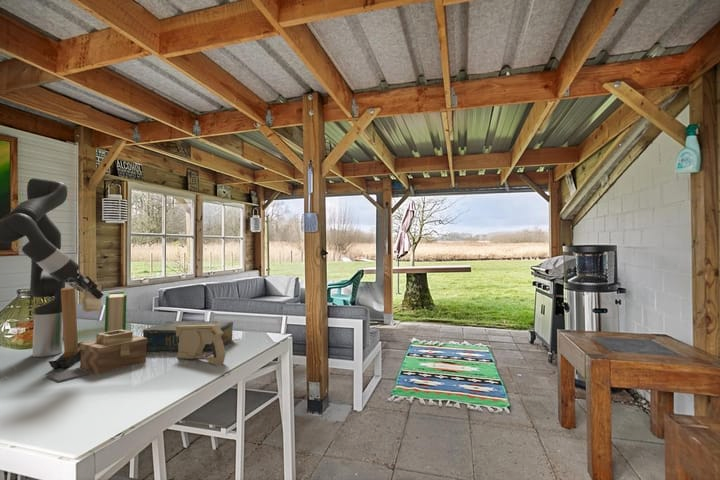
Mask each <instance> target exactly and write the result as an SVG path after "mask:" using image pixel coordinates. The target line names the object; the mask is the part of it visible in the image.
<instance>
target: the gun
mask: <svg viewBox="0 0 720 480" xmlns="http://www.w3.org/2000/svg"><path fill="white" fill-rule="evenodd" d="M222 335H223V331H222V330H221V329H220V327H219V326H218V325H180V326H176V336H179V343H178V353H177V355H176V358H177V359H181V360H206V361H208V363H211V364H212V365H215V366H221V365H224V362H225V358H226V349H225V345H223V341H222V340H221V336H222ZM206 344H209V348H210V347H212V352H211V353H212V354H202V353H203V352H202V350H203V349H204V347H205V345H206Z"/></svg>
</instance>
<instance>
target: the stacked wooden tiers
mask: <svg viewBox="0 0 720 480" xmlns="http://www.w3.org/2000/svg"><path fill="white" fill-rule="evenodd" d="M133 333H134V332H133V331H131V330H127V329H126V330H122V329H121V330H115V331H109V332H105V331H104V332H97V333H96V339H94V340H89V341H82V342H83V343H80V342H79V343H80V349H81V360H80V361H79V368H80V369H83V370H86V371H88V372H91V373H96V374H98V375H99V374H103V373H107V372H112V371H115V370H118V369H119V370H120V369H122V368H125V367H127V368H128V367H129V366H134V365H137V364H141V363H146V362H147V351H146V344H147V343H148V338H144V337H143V336H139V335H135V334H133Z"/></svg>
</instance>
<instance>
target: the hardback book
mask: <svg viewBox="0 0 720 480" xmlns="http://www.w3.org/2000/svg"><path fill="white" fill-rule="evenodd" d="M127 295H128V294H127V291H117V292H114V291H113V292H107V293H106V295H105V308H104V310H105V311H104V312H105V314H104V332H109V331H115V330H121V329H122V330H127V328H126V327H127V326H126V325H127V324H126V323H127Z"/></svg>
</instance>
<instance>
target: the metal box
mask: <svg viewBox="0 0 720 480" xmlns="http://www.w3.org/2000/svg"><path fill="white" fill-rule="evenodd" d="M180 325H218V326H219V327H220V329H221V330H222V331H223V335H222V336H221V340H222V341H223V345H224V346H225V345H227V344H230V343H231V342H232V341H233V327H234V321H231V320H230V321H224V320H223V321H221V320H220V321H218V320H217V321H215V320H213V321H212V320H211V321H207V320H206V321H204V320H203V321H202V320H190V321H189V320H188V321H187V320H169V321H165V322H163V323H159V324H156V325H151V326H149V327H146V328H143V330H142V335H143V336H142V337H144V338H148V343H147V344H146V352H151V353H152V352H153V353H154V352H155V353H156V352H157V353H159V352H165V353H166V352H178V343H179V336H176V326H180ZM205 352H206V353H213V352H212V347H210V348H209V344H206V345H205V347H204V349H203V350H202V352H201V353H205ZM178 353H179V352H178Z"/></svg>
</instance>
